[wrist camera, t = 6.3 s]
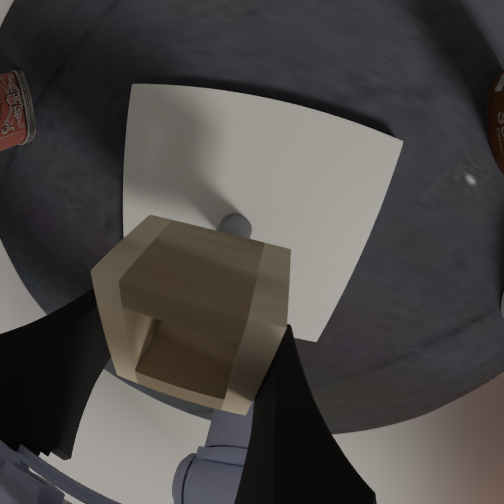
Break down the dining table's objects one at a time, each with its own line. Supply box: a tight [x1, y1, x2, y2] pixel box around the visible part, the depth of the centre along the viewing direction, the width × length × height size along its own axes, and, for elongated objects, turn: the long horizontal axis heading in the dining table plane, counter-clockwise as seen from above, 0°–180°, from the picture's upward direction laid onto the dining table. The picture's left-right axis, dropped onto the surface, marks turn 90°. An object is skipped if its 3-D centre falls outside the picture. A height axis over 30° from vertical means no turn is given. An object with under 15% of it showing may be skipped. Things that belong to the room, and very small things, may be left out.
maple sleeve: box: [91, 215, 291, 416], centre depth 10 cm, size 6×6×4 cm
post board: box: [123, 84, 403, 342], centre depth 16 cm, size 16×16×5 cm
